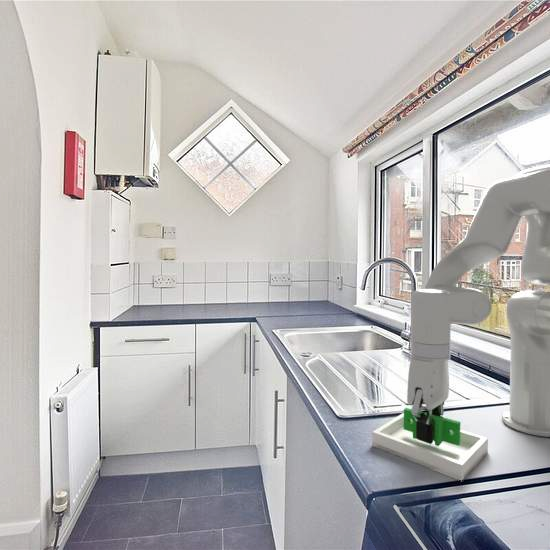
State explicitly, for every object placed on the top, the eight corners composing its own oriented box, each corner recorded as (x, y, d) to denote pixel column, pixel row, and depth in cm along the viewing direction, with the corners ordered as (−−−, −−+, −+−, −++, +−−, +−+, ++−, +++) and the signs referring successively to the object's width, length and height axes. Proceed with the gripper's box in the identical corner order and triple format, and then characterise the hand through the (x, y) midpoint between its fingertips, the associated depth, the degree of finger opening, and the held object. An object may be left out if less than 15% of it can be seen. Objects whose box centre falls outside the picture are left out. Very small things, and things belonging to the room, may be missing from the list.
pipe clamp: (398, 434, 80) (398, 413, 80) (405, 428, 83) (405, 407, 83) (455, 451, 73) (454, 427, 73) (460, 443, 76) (460, 421, 75)
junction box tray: (404, 424, 89) (404, 412, 89) (487, 452, 76) (487, 438, 76) (372, 445, 79) (372, 431, 79) (461, 481, 66) (462, 465, 66)
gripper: (429, 340, 85) (429, 419, 86) (392, 354, 74) (392, 445, 75) (464, 345, 80) (463, 429, 81) (430, 361, 68) (430, 459, 69)
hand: (429, 436), depth 78 cm, fingers closed on pipe clamp, 4 cm apart
